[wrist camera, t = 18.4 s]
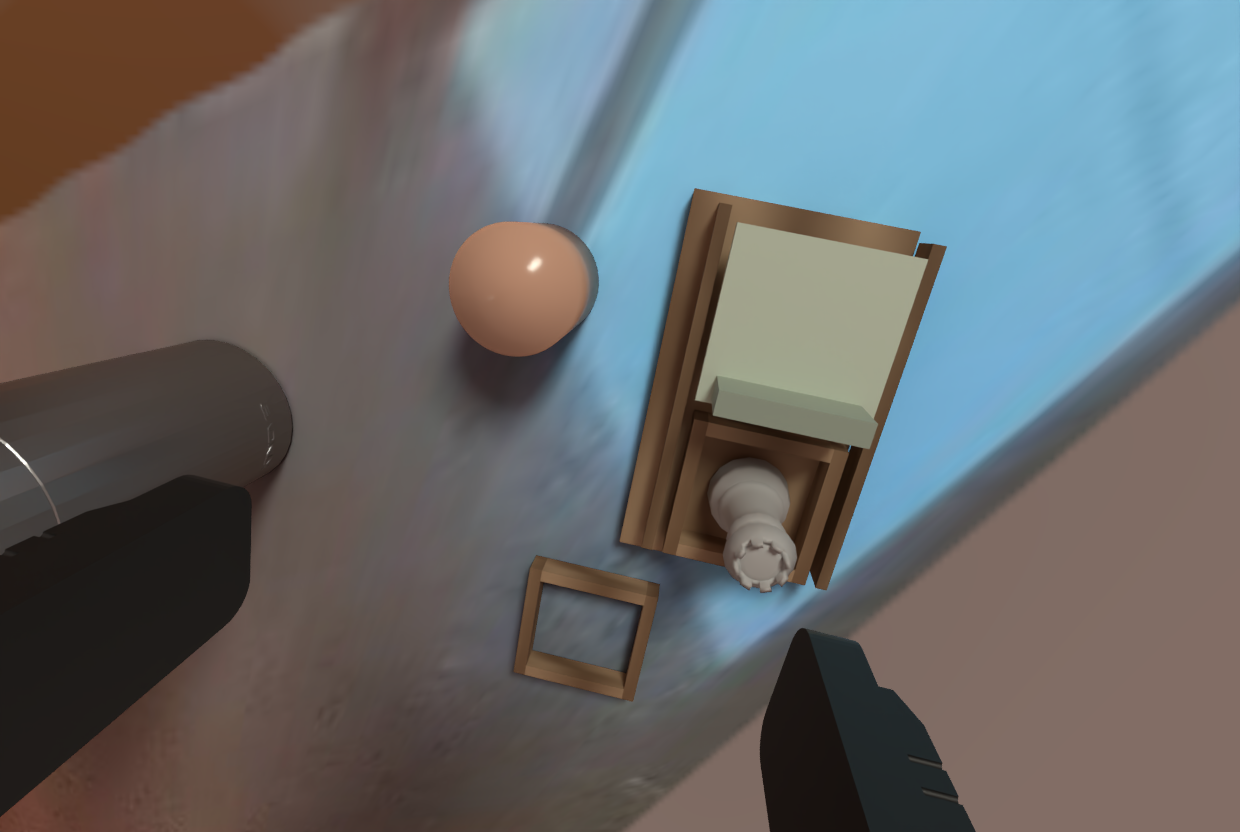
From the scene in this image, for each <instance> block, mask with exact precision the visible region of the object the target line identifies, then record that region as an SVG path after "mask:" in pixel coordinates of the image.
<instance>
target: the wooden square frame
mask: <svg viewBox="0 0 1240 832" xmlns="http://www.w3.org/2000/svg"><path fill="white" fill-rule="evenodd" d="M544 582H546V583H550V584H554V585H558V586H563V587H567V588H571V589H575V590H579V591H584V592H588V593H592V594H596V595H601V596H605V597H609V598H613V599H617V600H622V601H626V602H630V603H634V604H638V605H642V609H641V614H640V618H639V622H638V626H637V630H636V635H635V639H634V643H633V647H632V652H631V656H630V660H629V664H628V669H627V673H623V672H619V671H615V670H611V669H607V668H603V667H599V666H595V665H591V664H587V663H583V662H579V661H575V660H571V659H566V658H562V657H558V656H554V655H550V654H546V653H542V652H538V651H534V650H532V648H533V643H534V637H535V631H536V625H537V619H538V613H539V607H540V602H541V596H542V590H543V584H544ZM659 586H660V584H656V583H652V582H648V581H644V580H639V579H635V578H631V577H627V576H622V575H618V574H614V573H610V572H605V571H601V570H597V569H593V568H588V567H584V566H580V565H576V564H571V563H567V562H563V561H559V560H554V559H550V558H546V557H542V556H537V555H536V557H535V559H534V561H533V563H532V565H531V567H530V572H529V579H528V585H527V591H526V597H525V604H524V610H523V616H522V622H521V629H520V635H519V641H518V647H517V653H516V660H515V666H514V672H516V673H520V674H524V675H528V676H532V677H536V678H540V679H544V680H548V681H552V682H556V683H560V684H564V685H568V686H572V687H576V688H580V689H584V690H588V691H592V692H596V693H600V694H604V695H608V696H612V697H616V698H620V699H624V700H628V701H632V702H633V699H634V695H635V691H636V687H637V683H638V679H639V675H640V671H641V667H642V663H643V659H644V654H645V650H646V646H647V642H648V638H649V634H650V630H651V626H652V622H653V618H654V614H655V610H656V605H657V601H658V596H659Z"/></svg>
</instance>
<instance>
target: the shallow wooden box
mask: <svg viewBox="0 0 1240 832" xmlns="http://www.w3.org/2000/svg"><path fill="white" fill-rule="evenodd" d="M737 222H740V223H745V224H750V225H755V226H760V227H765V228H770V229H775V230H780V231H786V232H791V233H796V234H801V235H806V236H811V237H816V238H821V239H826V240H831V241H837V242H842V243H847V244H852V245H857V246H862V247H867V248H872V249H877V250H882V251H888V252H893V253H898V254H903V255H908V256H913V254H914V251H915V248H916V245H917V242H918V239H919V236H920V233H921V232H918V231H913V230H908V229H903V228H897V227H892V226H887V225H882V224H877V223H871V222H866V221H861V220H856V219H851V218H846V217H840V216H835V215H830V214H825V213H820V212H815V211H809V210H804V209H799V208H794V207H789V206H784V205H778V204H773V203H768V202H763V201H758V200H753V199H747V198H742V197H737V196H732V195H727V194H721V193H716V192H711V191H706V190H701V189H696V188H695V189H694V194H693V199H692V203H691V208H690V213H689V217H688V222H687V227H686V231H685V236H684V241H683V246H682V250H681V255H680V260H679V264H678V269H677V274H676V278H675V283H674V288H673V293H672V297H671V302H670V307H669V311H668V316H667V321H666V325H665V330H664V335H663V340H662V344H661V349H660V354H659V358H658V363H657V368H656V372H655V377H654V382H653V387H652V391H651V396H650V401H649V405H648V410H647V415H646V420H645V424H644V429H643V434H642V438H641V443H640V448H639V452H638V457H637V462H636V467H635V471H634V476H633V481H632V485H631V490H630V495H629V499H628V504H627V509H626V514H625V518H624V523H623V528H622V532H621V537H620V542H623V543H627V544H632V545H636V546H640V547H642V548H646V549H650V550H652V549H653V550H658V551H662V552H663V553H667V554H672V555H676V556H680V557H685V558H689V559H693V560H698V561H702V562H706V563H711V564H715V565H719V566H724V567H725V564H724V559H723V551H724V548H725V544H726V542H727V540H726V537H727V534H728V532H726V531H725V530H723V529H722V528H721V527H720V526H719V524H718V523H717V522H716V520H715V519H714V517H713V516H712V514H711V509H710V506H709V500H708V495H707V492H708V488H709V484H710V480H711V478H712V477H713V476H714V475H715V473H716V472H717V471H718V469H719V468H720V467H722V466H724V465H725V464H727V463H729V462H731V461H732V460H735V459H742V458H748V457H751V458H756V459H760V460H765V461H767V462H769V463H770V464H772V465H773V466H775V467H776V468H778V469H779V470H780V472H781V473H782V475H783V476H784V478H785V479H786V481H787V484H788V491H789V498H790V506H789V509H788V513H787V516H786V519H785V521H784V522H783V523H782V524H781V525H782V526H783V528H784V529H785V531H786V533H787V534H788V535H789V537H790V538H791V540H792V541H793V543H794V544H795V547H796V553H797V560H796V563H795V567H794V570H793V571H792V572H791V573H790V575H789V576H788V578H789V579H788V580H787V581H788V582H793V583H797V584H801V585H805V583H806V580H807V577H808V574H809V571H810V573H811V576H812V579H813V582H814V585H815V588H818V589H823V590H827V587H828V584H829V582H830V579H831V576H832V573H833V570H834V567H835V564H836V562H837V559H838V556H839V553H840V550H841V547H842V545H843V542H844V539H845V536H846V533H847V530H848V527H849V525H850V522H851V519H852V516H853V513H854V510H855V507H856V505H857V502H858V499H859V496H860V493H861V490H862V487H863V485H864V482H865V479H866V476H867V473H868V470H869V467H870V465H871V462H872V459H873V456H874V453H875V450H876V447H877V445H878V442H879V439H880V436H881V433H882V430H883V427H884V425H885V422H886V419H887V416H888V413H889V410H890V408H891V405H892V402H893V399H894V396H895V393H896V390H897V388H898V385H899V382H900V379H901V376H902V373H903V370H904V368H905V365H906V362H907V359H908V356H909V353H910V350H911V348H912V345H913V342H914V339H915V336H916V333H917V330H918V328H919V325H920V322H921V319H922V316H923V313H924V310H925V308H926V305H927V302H928V299H929V296H930V293H931V290H932V288H933V285H934V282H935V279H936V276H937V273H938V271H939V268H940V265H941V262H942V259H943V256H944V253H945V251H946V248H947V246H941V245H936V244H925V243H919V246H918V249H917V252H916V255H915V257H918V258H923V259H928V262H927V265H926V268H925V271H924V274H923V277H922V279H921V282H920V285H919V288H918V291H917V294H916V297H915V300H914V303H913V306H912V309H911V312H910V314H909V317H908V320H907V323H906V326H905V329H904V332H903V335H902V338H901V341H900V344H899V347H898V349H897V352H896V355H895V358H894V361H893V364H892V367H891V370H890V373H889V376H888V379H887V382H886V384H885V387H884V390H883V393H882V396H881V399H880V402H879V405H878V408H877V411H876V414H875V417H874V420H875V421H876V422H877V423H878V426H877V429H876V432H875V435H874V438H873V440H872V443H871V446H870V449H866V448H861V447H856V446H852V445H851V448H850V451H849V452H848V448H849V445H847V444H843V443H838V442H833V441H829V440H824V439H819V438H815V437H810V436H806V435H801V434H796V433H792V432H787V431H783V430H778V429H773V428H769V427H764V426H759V425H755V424H750V423H746V422H741V421H736V420H732V419H727V418H722V417H718V416H713V413H712V404H711V403H706V402H702V401H697V400H695V395H696V391H697V387H698V383H699V378H700V374H701V370H702V366H703V362H704V357H705V353H706V349H707V345H708V341H709V336H710V332H711V328H712V324H713V320H714V315H715V311H716V307H717V303H718V299H719V294H720V290H721V286H722V282H723V278H724V273H725V269H726V265H727V261H728V257H729V252H730V248H731V244H732V240H733V236H734V231H735V227H736V223H737Z"/></svg>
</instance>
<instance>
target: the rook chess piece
mask: <svg viewBox="0 0 1240 832" xmlns="http://www.w3.org/2000/svg"><path fill="white" fill-rule="evenodd" d="M707 495H708V500H709V506H710V509H711V514H712V516H713V517H714V519H715V520H716V522H717V523H718V524H719V526H720V527H721V528H722V529H723V530H725V531H726V532H728V534H727V537H726V540H727V542H726V544H725V548H724V551H723V559H724V564H725V568H726V569H727V570H728V572H729V573H730V575H731V576H732V577H733V578H734V579H736V580H737V581H739V582H740V585H742V586H743V587H745V588H746V589H748V590H750V588H751V587H756V588H760V593H765V592H772V591H771V586H774V585H776V584H779V585H780V586H781V587H782V586H783V585H784V584H785V583H786V581H787V580H788V579H789V578H788V576H789V575H790V573H791V572H792V571H793V570H794V567H795V563H796V560H797V553H796V547H795V544H794V543H793V541H792V540H791V538H790V537H789V535H788V534H787V533H786V531H785V529H784V528H783V526H782V525H781V524H782V523H783V522H784V521H785V519H786V516H787V513H788V509H789V506H790V498H789V491H788V484H787V481H786V479H785V478H784V476H783V475H782V473H781V472H780V470H779V469H778V468H776V467H775V466H773V465H772V464H770V463H769V462H767V461H765V460H760V459H756V458H751V457H748V458H742V459H735V460H732V461H731V462H729V463H727V464H725V465H724V466H722V467H720V468H719V469H718V471H717V472H716V473H715V475H714V476H713V477H712V478H711V480H710V484H709V488H708V492H707Z"/></svg>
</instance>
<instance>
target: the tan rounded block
mask: <svg viewBox="0 0 1240 832" xmlns="http://www.w3.org/2000/svg"><path fill="white" fill-rule="evenodd" d="M598 287H599V276H598V269H597V266H596V262H595V260H594V257H593V255H592V253H591V252H590V250H589V248H588V247H587V246H586V244H585V243H584V242H583V241H582V240H581V239H580V238H579V237H578V236H577V235H575V234H574V233H573V232H571V231H569V230H568V229H565V228H563V227H561V226H558V225H554V224H548V223H529V222H500V223H495V224H491V225H488V226H486V227H484V228H482V229H480V230H478V231H477V232H475V233H474V234H472V235H471V236H470V237H469V238H468V239H467V240H466V241H465V242H464V243H463V244H462V246H461V247H460V249H459V250H458V252H457V254H456V256H455V258H454V260H453V263H452V267H451V270H450V277H449V292H450V299H451V303H452V306H453V309H454V312H455V314H456V316H457V319H458V320H459V322H460V324H461V325H462V327H463V328H464V329H465V331H466V332H467V333H468V334H469V335H470V336H471V337H472V338H473V339H474V340H475V341H476V342H478V343H479V344H480V345H482V346H483V347H485V348H487V349H489V350H491V351H493V352H495V353H499V354H502V355H506V356H516V357H521V356H529V355H533V354H537V353H539V352H542V351H544V350H546V349H548V348H549V347H551V346H552V345H554V344H555V343H556V342H558V341H559V340H560V339H561V338H563V337H564V336H565V335H566V334H568V333H569V332H570V331H571V330H573V329H574V328H575V327H576V326H577V325H579V324H580V323H581V322H582V321H583V320H584V319H585V318H586V317H587V316H588V314H589V313H590V311H591V310H592V308H593V306H594V304H595V301H596V298H597V294H598Z"/></svg>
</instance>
